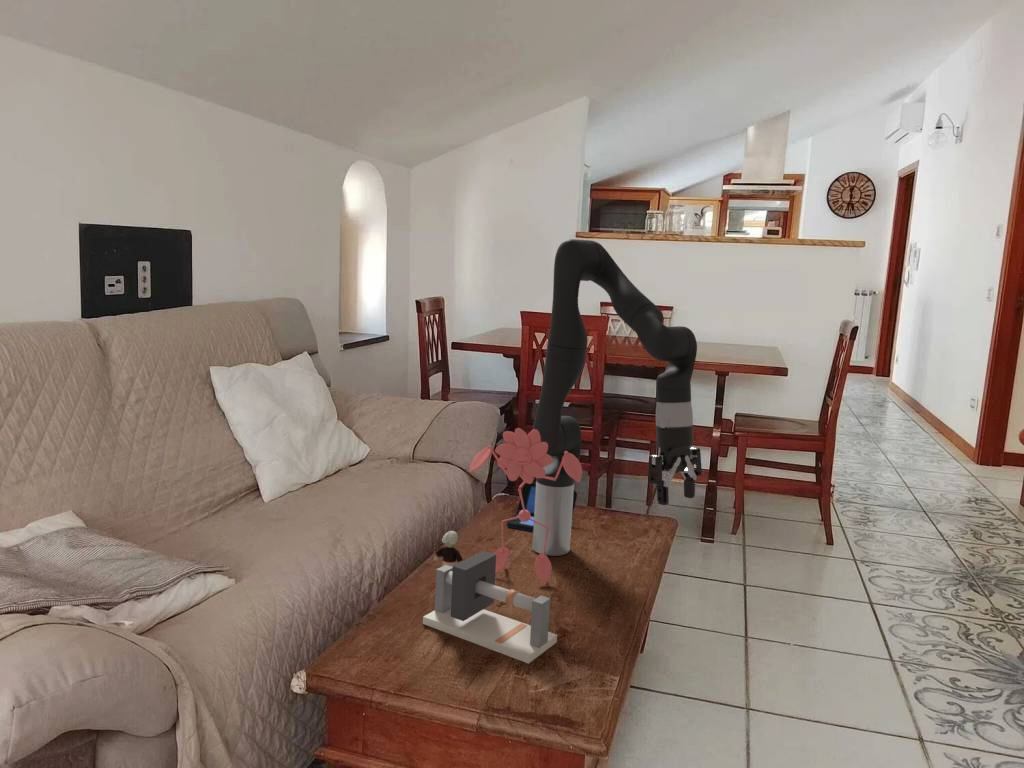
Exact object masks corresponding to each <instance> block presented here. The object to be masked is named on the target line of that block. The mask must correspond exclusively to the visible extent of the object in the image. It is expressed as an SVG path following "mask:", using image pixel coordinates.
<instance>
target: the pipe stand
mask: <svg viewBox="0 0 1024 768" xmlns="http://www.w3.org/2000/svg"><path fill="white" fill-rule="evenodd" d="M452 571H453V567H451V566H448V565H444V566H442V565H441V566H440V567H439V568H436V571H435V590H434V610H432V611H431V612H429V613H427V614H425V615H424V616H423V617H422V624H423V625H425V626H427V627H431V628H432V629H435V630H438V631H441V632H443V633H446V634H449V635H452V636H454V637H456V638H460V639H462V640H465V641H468V642H469V643H473V644H476V645H478V646H480V647H483V648H485V649H488V650H491V651H494V652H497V653H499V654H502V655H504V656H507V657H510V658H513V659H515V660H517V661H521V662H523V663H526V664H528V665H529V664H530V663H532V662H533V661H535V659H537V657H539V656H541V655H542V654H543V653H544V652H546V651H547V650H548V649H550V648H551V647H552V646H554V645H555V644H556V643H557V642H558V639H557V638H558V634H556V633H553V632H550V631H549V625H550V610H551V597H547V596H546V595H542V594H541V595H539V596H538V597H533V596H529V595H526V594H524V593H521V592H520V591H518V590H516V589H508V588H505V587H502V586H498V585H496V584H495V585H493V584H490V583H487V582H484V581H480V580H477V581H475V593H478V594H481V595H484V596H487V597H490V598H493V599H494V600H497V601H500V602H503V603H506V605H507V606H510V607H512V608H516V607H517V608H521V609H523V610H526V611H530V612H531V619H530V620H531V621H530V622H531V623H530V624H528V623H524V622H521V621H520V620H516V619H514V618H510V617H508V616H505V615H504V616H503V615H501V614H498V613H496V612H493V611H490V610H487V609H483V610H481V611H480V612H478V613H476V614H475V615H473V616H471V617H470V618H468V619H466V620H465V621H461V620H459V619H456V618H453V617H451V595H452Z"/></svg>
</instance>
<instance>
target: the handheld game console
mask: <svg viewBox="0 0 1024 768" xmlns="http://www.w3.org/2000/svg"><path fill="white" fill-rule="evenodd" d="M521 493H522V498H523V503H524V508H525V510H528V511H529V512H530V515H531V517H530V518H531V519H533V520H534V512H535V495H536V482H535V483H534V482H532V483H531V484H528V483H525V484H524V486H523V487H522V488H521ZM577 498H578V492H577V491H576V490H574V492H573V508H572V518H573V516H574V511H575V507H576V503H577ZM518 501H519V502H518V504H517V505H518V506H517V510H516V511H515V512H516V513H515V514H514V515H513V516H512V517H511V518H514V517H518V516H519V512H520V511H521V510H523V507H522V503H521V499H520V498H519V500H518ZM506 526H507V527H509V528H513V529H517V530H522V531H529V532H533V528H534V522H533V521H531V520H528V521H527V522H522V521H521V520H520V519H519V518H517V519H512V520H508V521H506Z"/></svg>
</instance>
